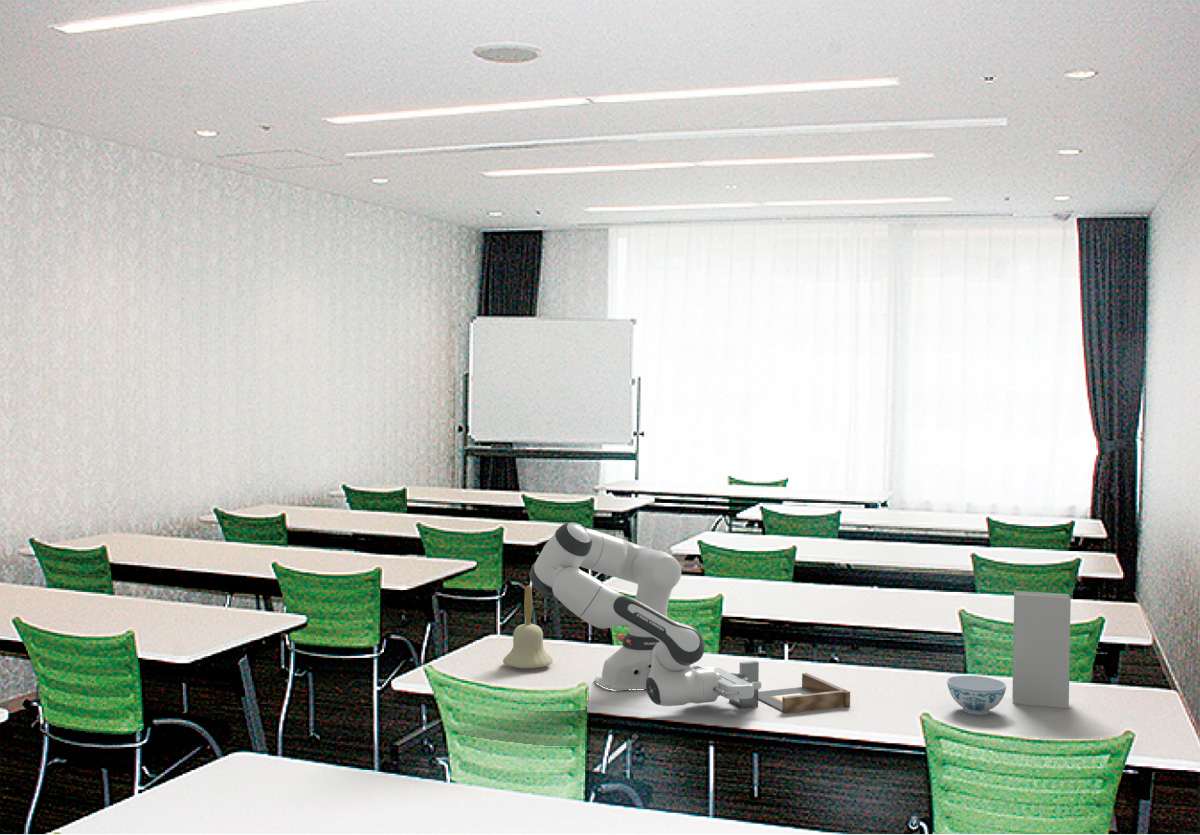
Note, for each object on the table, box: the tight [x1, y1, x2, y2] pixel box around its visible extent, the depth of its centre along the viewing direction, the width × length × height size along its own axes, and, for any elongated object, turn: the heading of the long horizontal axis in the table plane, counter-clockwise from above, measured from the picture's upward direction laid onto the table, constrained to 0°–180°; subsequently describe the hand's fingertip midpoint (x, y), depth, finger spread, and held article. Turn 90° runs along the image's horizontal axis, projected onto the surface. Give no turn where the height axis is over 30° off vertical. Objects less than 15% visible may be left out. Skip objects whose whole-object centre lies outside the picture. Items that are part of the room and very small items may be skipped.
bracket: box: [728, 660, 760, 709], centre depth 302 cm, size 7×5×12 cm
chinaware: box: [946, 675, 1007, 716], centre depth 297 cm, size 15×15×8 cm
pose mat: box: [758, 686, 815, 712], centre depth 307 cm, size 18×18×1 cm
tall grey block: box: [1011, 590, 1072, 709], centre depth 305 cm, size 14×6×30 cm, turn 71°
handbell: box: [502, 585, 554, 669], centre depth 341 cm, size 15×15×25 cm
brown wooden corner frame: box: [781, 672, 851, 714], centre depth 307 cm, size 20×22×4 cm
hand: (751, 680), depth 300 cm, fingers open, 7 cm apart
